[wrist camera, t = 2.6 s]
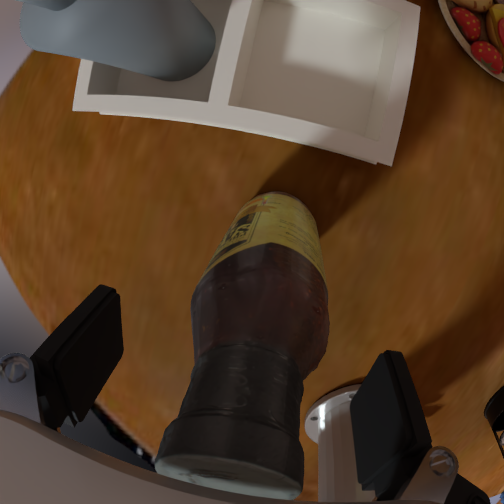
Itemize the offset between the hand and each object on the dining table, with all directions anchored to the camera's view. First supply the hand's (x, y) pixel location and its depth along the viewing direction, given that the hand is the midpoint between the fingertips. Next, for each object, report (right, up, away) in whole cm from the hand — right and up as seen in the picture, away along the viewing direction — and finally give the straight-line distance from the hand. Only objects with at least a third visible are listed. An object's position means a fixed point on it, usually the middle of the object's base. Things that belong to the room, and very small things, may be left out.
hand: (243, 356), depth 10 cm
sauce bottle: (+2, +5, +14) cm, 15 cm away
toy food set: (+22, +25, +4) cm, 33 cm away
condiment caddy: (0, +18, +9) cm, 20 cm away
